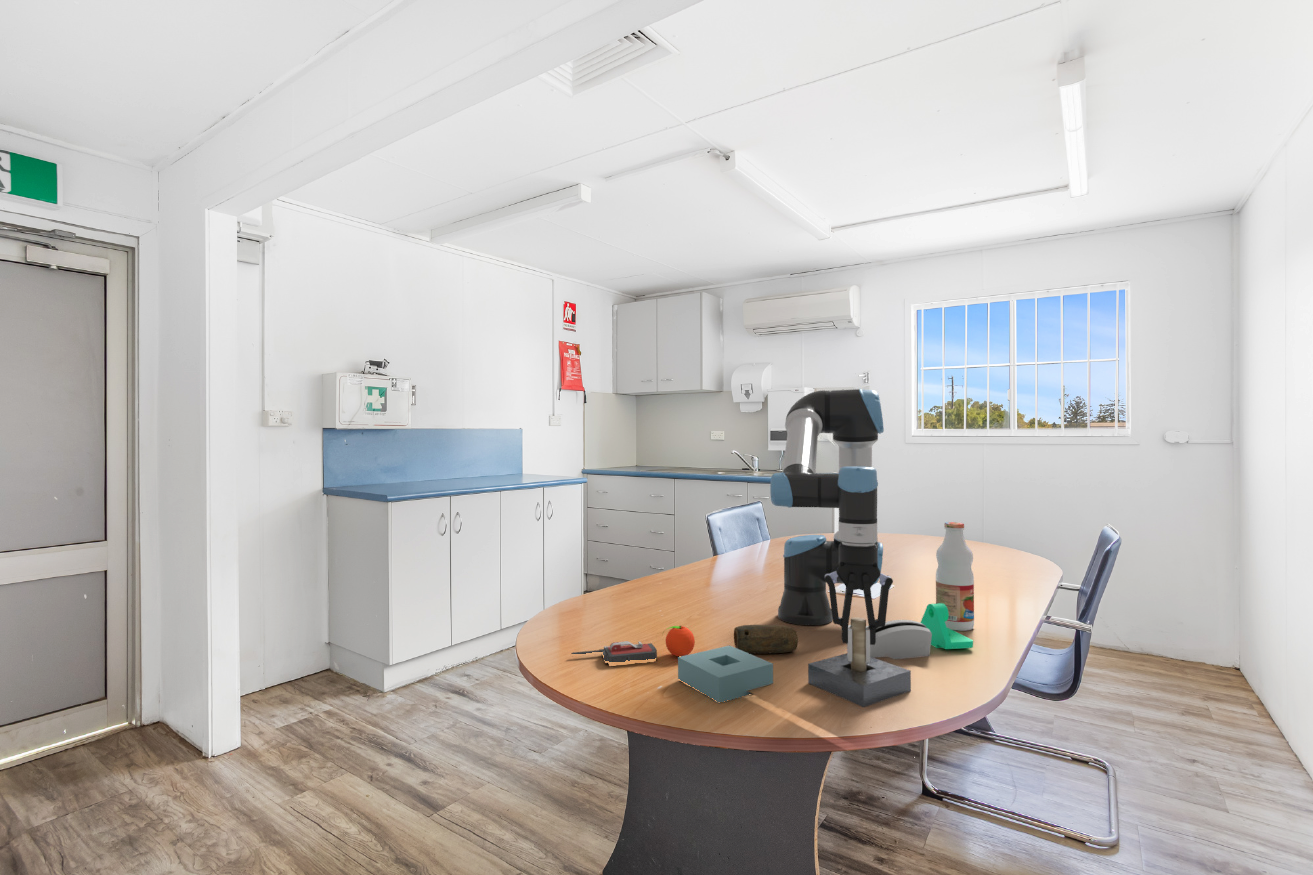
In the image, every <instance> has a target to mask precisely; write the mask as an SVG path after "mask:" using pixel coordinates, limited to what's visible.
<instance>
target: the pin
mask: <svg viewBox="0 0 1313 875" xmlns="http://www.w3.org/2000/svg"><path fill="white" fill-rule="evenodd" d="M850 625H851V628H852V661H851V670H853V671H856V672H859V673H862V672H866V626H867V619H865V618H862V617H851V618H850Z"/></svg>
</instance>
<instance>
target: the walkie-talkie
mask: <svg viewBox="0 0 1313 875" xmlns="http://www.w3.org/2000/svg"><path fill="white" fill-rule="evenodd" d="M637 642H638V643H637V644H634V643H632V642H630V641H628V640H625V641H620V642H619V641H615V642H611V643H610V645H609V646H608V645H606V646H605V645H604V646H603V648H601V649H598V650H597V649H595V650H587V651H586V650H584V651H574V652H571V654H586V653H592V652H603V655H604V658H603V661H604V660H605V661H609V662H625V661H626V660H628V661H630V660H646V659H647V660H648V659H655V658H658V651H657V648H656V647H655V645H654V644H653V643H642V642H641V641H637ZM571 654H570V655H571Z"/></svg>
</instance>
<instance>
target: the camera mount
mask: <svg viewBox="0 0 1313 875" xmlns="http://www.w3.org/2000/svg"><path fill="white" fill-rule="evenodd" d="M948 617H949V613H948V609H947V607H946V605H945V604H943V603H938V604H936V603H928V604H927V606H926V608H925V610H924V613H923V615H922V618H921V620H920V623H922V624H924V625H925V626H926V628H928V629H929V630H930V632H931V633H932V638H931V646H933V647H934V648H936V649H945V650H953V649H972V648H974V640H973V639H972V638H969V637H967V636H965V635H963V634H961V633H959V632H957V631H956V630H951V629H949V628H947V627H946V624H945V621H947V620H948Z"/></svg>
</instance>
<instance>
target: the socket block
mask: <svg viewBox="0 0 1313 875" xmlns="http://www.w3.org/2000/svg"><path fill="white" fill-rule="evenodd" d="M678 679H680V680H681V681H683V682H685V683H687V684H688V685H690V686H691V687H694V688H695V689H697V690H699V691H700V692H702V693H704V694H706V695H707V696H709V697H710V698H713V699H714V700H716V701H717V702H716V701H715V702H716V703H718V702H723V703H725V702H724V701H726V702H728V701H727V700H730V701H733V700H736V699H735V698H737V699H739V697H740V698H742V696H744V697H748V696H750V695H749V694H751V695H753V693H752V692H750V691H751V690H755V689H759V688H761V687H765V686H769V685H772V684H774V664H773V662H770V661H768V660H765V659H763V658H761V657H758V656H756V655H755V654H749V653H746V652H744V651H742V650H739V649H737V648H736V647H735V646H732V645H726V646H721V647H717V648H711V649H708V650H704V651H698V652H695V653H689V654H688V655H685V656H681V657H678V656H677V680H678ZM707 696H706V697H707ZM710 698H709V699H710ZM732 699H733V700H732ZM714 700H713V701H714Z"/></svg>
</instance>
